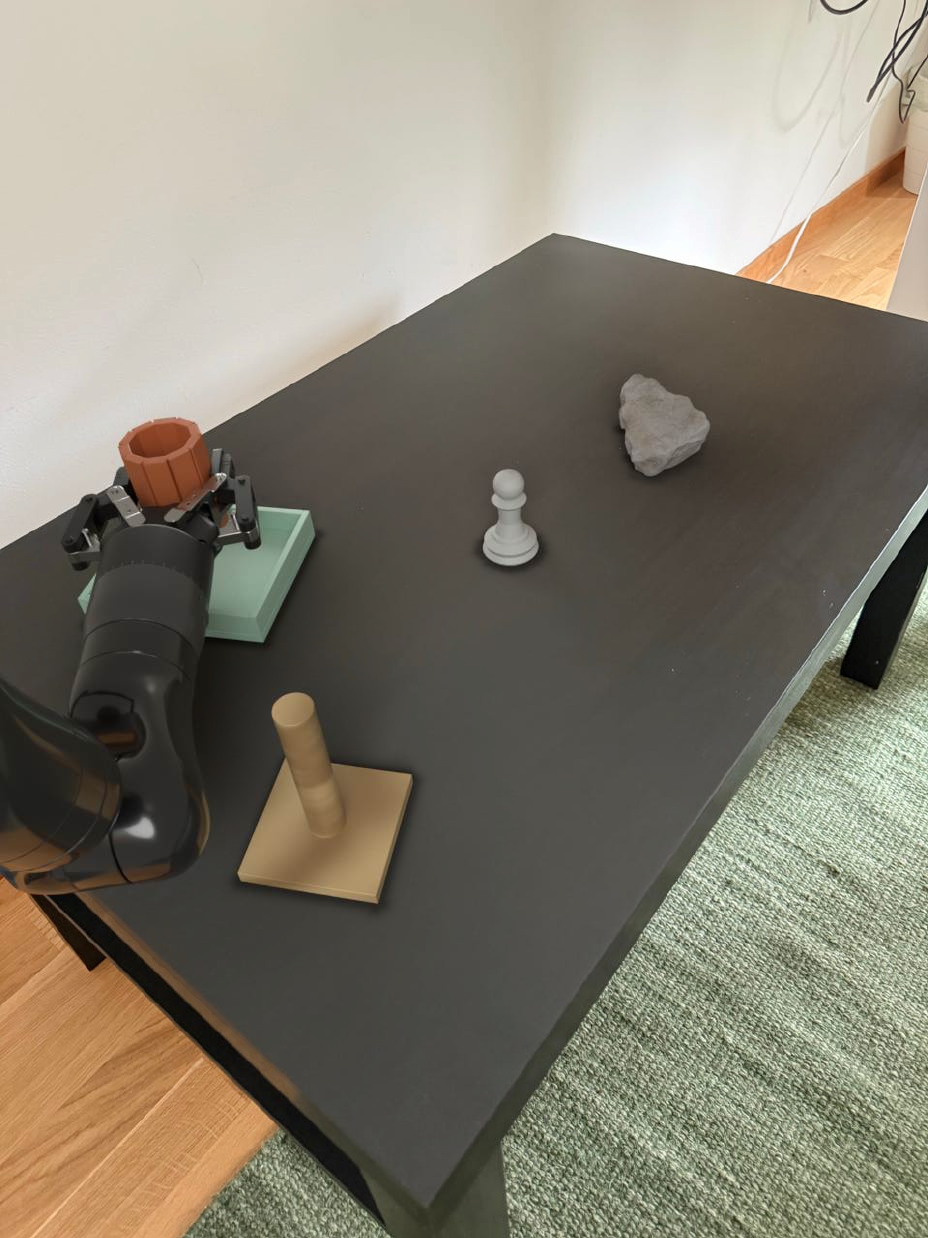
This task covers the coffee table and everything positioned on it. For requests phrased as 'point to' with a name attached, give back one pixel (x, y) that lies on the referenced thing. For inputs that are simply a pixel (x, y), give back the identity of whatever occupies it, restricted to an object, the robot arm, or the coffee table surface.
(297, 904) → the coffee table surface
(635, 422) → the stone
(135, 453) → the ring collar
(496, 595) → the coffee table surface
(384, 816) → the peg stand
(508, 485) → the chess piece
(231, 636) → the tray
